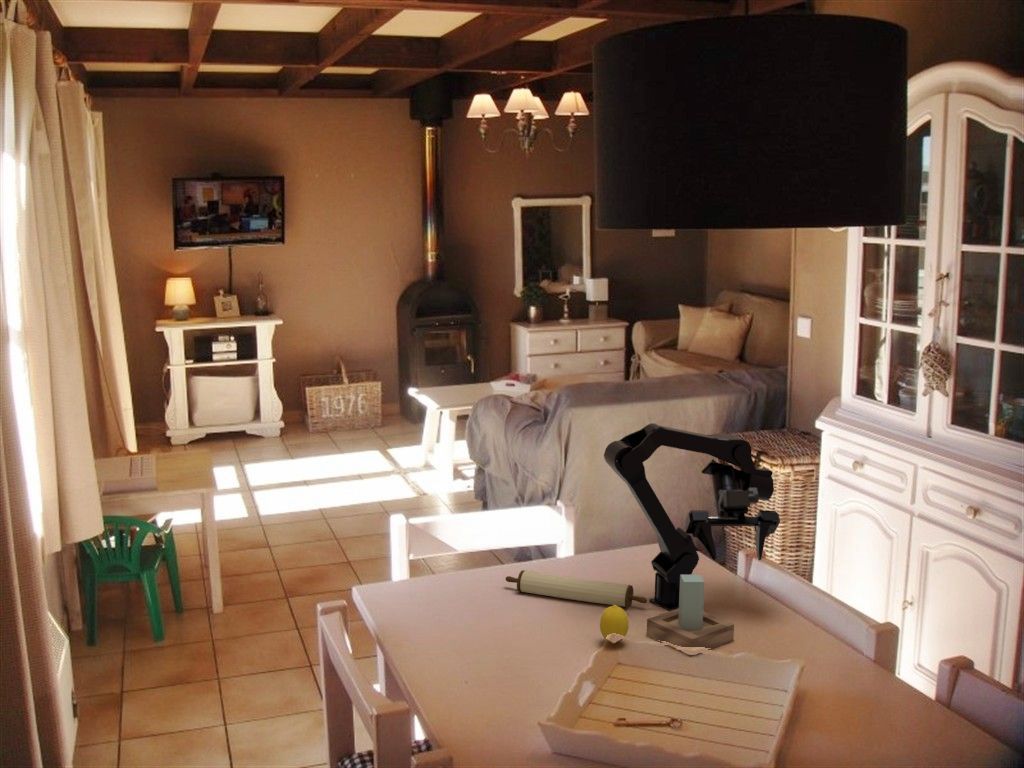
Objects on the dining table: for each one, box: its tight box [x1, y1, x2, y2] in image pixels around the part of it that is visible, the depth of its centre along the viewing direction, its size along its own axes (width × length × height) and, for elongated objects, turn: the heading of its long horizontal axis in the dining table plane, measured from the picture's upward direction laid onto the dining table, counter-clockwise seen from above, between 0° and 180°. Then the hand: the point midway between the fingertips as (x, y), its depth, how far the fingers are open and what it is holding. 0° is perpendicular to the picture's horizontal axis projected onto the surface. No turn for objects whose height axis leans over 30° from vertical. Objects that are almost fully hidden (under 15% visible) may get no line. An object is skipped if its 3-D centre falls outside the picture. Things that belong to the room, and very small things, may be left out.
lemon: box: [599, 605, 630, 640], centre depth 202 cm, size 6×6×8 cm
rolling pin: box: [505, 569, 648, 610], centre depth 225 cm, size 32×6×5 cm, turn 69°
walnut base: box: [646, 608, 735, 650], centre depth 205 cm, size 12×12×4 cm
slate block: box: [678, 574, 705, 631], centre depth 204 cm, size 4×4×10 cm
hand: (737, 559), depth 211 cm, fingers open, 9 cm apart
